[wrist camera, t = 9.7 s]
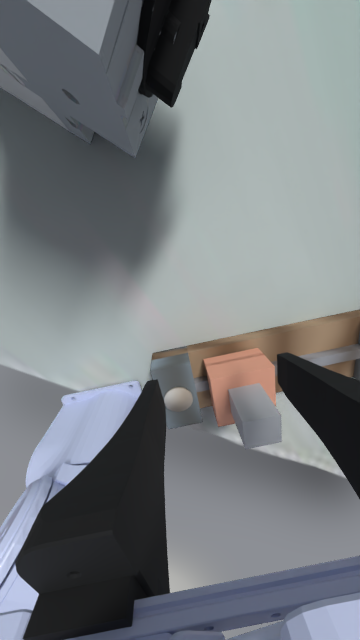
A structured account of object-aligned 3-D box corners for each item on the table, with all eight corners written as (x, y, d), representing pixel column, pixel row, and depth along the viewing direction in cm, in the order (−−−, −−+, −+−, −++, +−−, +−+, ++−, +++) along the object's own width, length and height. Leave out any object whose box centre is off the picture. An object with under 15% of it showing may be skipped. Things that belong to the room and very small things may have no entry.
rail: (167, 405, 25) (168, 431, 22) (152, 353, 22) (150, 373, 19) (373, 363, 25) (407, 382, 21) (384, 304, 22) (426, 315, 19)
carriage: (211, 401, 23) (229, 464, 16) (203, 359, 21) (220, 411, 14) (260, 391, 23) (299, 450, 16) (257, 347, 21) (301, 395, 14)
